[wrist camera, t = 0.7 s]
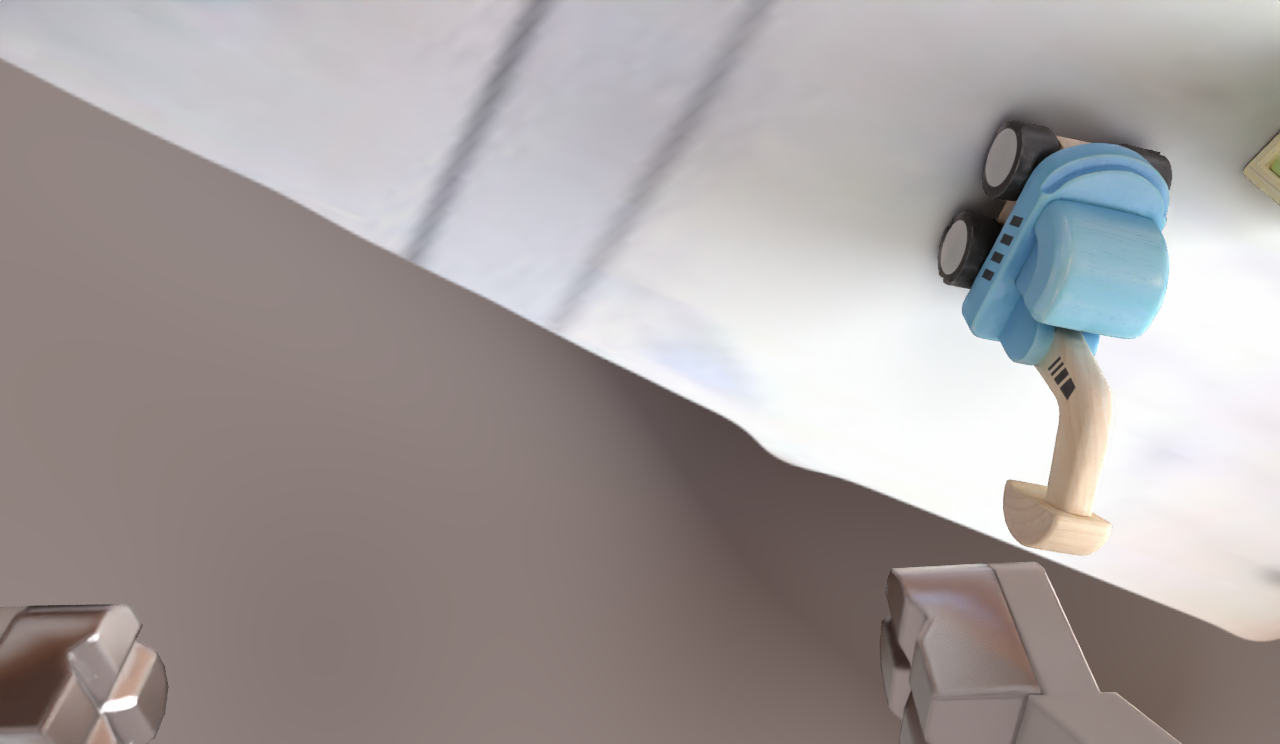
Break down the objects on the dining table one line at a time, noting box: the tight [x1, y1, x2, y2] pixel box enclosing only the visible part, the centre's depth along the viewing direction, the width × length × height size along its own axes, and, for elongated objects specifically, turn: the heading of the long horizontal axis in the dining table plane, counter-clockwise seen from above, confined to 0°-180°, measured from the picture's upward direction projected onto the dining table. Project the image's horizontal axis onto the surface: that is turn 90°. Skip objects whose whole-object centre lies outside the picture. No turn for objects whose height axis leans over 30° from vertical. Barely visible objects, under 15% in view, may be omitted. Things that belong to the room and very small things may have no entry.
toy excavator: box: [938, 120, 1172, 556], centre depth 50 cm, size 9×17×17 cm, turn 166°
